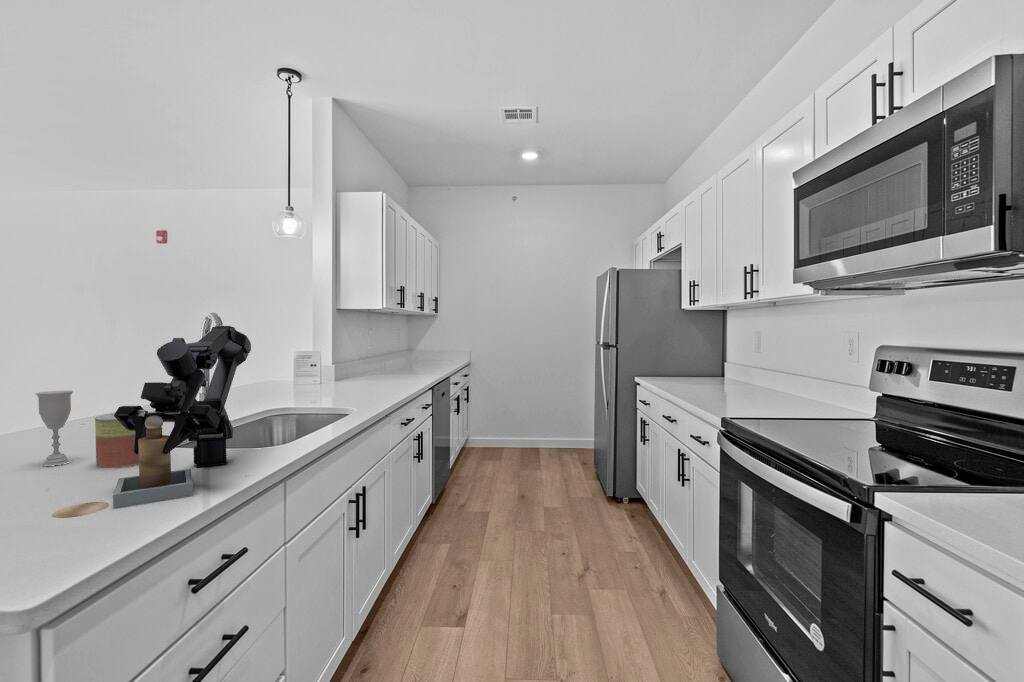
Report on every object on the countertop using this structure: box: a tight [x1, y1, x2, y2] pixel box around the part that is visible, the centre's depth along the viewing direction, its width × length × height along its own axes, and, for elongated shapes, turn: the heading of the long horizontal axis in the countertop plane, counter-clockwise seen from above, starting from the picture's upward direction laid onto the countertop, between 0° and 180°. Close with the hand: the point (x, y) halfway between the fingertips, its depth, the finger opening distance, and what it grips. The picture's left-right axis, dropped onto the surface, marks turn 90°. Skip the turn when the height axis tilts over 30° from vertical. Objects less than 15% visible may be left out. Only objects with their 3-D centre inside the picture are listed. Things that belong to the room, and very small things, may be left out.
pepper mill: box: [138, 415, 172, 489], centre depth 101 cm, size 5×5×14 cm
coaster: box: [51, 501, 110, 519], centre depth 92 cm, size 8×8×1 cm
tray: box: [112, 468, 194, 510], centre depth 101 cm, size 12×12×3 cm
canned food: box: [94, 413, 139, 469], centre depth 126 cm, size 11×11×12 cm
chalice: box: [35, 390, 74, 467], centre depth 125 cm, size 7×7×18 cm
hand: (150, 453), depth 99 cm, fingers closed on pepper mill, 5 cm apart
